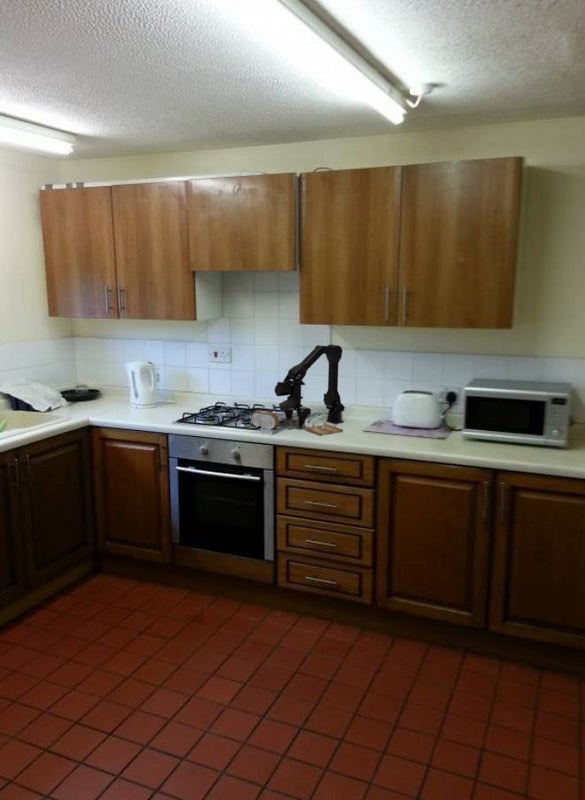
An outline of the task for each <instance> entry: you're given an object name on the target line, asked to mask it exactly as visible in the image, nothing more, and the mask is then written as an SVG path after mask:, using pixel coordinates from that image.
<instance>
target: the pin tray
mask: <svg viewBox="0 0 585 800" xmlns="http://www.w3.org/2000/svg"><path fill="white" fill-rule="evenodd" d="M336 424H337V423H332V425H330V424H327V421H326V420H323V424H321V425H316V423H315V422H312V424H311V425H312V426H310V427H308V426H307V427H304V431H305V432H309V433H312V434H314V435H317V436H320V437H321V436H325V435H326V436H328V435H332V434H336V433H337V434H338V433H343V432H344V429H343V428H340V427H337V426H336Z"/></svg>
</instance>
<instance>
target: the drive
mask: <svg viewBox="0 0 585 800" xmlns="http://www.w3.org/2000/svg"><path fill="white" fill-rule="evenodd" d="M283 424H284V427H283V428H284V429H285V430H288V431H292V430H297V429H301V428H306V420H305V421H304V423H303V425H302V427H301V428H299V419H298V416H297V415H296V416H292V418H284V422H283Z"/></svg>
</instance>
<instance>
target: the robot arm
mask: <svg viewBox="0 0 585 800" xmlns="http://www.w3.org/2000/svg"><path fill="white" fill-rule="evenodd" d="M323 355H325V356H326V357H325V358H326V359H327V362H328V371H327V373H328V374H327V375H328V377H327V378H328V379H327V391H326V393H323V402H324V405H325V406H326V410H328V413H327V420H325V421H326V423H330V424H331V423H332V424H339V423H344V420H342V417H343V415H342V413H343V412H344V411H345V408H346V407H345V405H344V404H343V403H342V400H341V394H340V393H339V391H338V389H339V387H338V386H339V385H338V384H339V363H340V362H341V359H342V356H343V348H342V347H341V346H340V345H337V344H328V345H319V344H318V345H316V346H315V347H314V349H312V351H311V352H310V353H309V354H308V355H307V356H306V357H305V358H304V359H303V360H301V362H299V363H297V364H296V365H294V366H292V367H291V368H290V369H289V370H288V371H287V374H286V376H285V378H284V380H283V381H277V382H276V383H277V384H276V385H275V387H274V394H275V395H276V397H284V396H285V397H286V396H287V397H286V398H287V399H286V400H283V401H282V402H280V403H278V407H279V410H280V411H282V412H283V413H284V414H285V417H286V418H292V417H293V414H294V411H295V412H296V417H297V416H298V419H299V428H298V429H301V427H302V425H303V423H304V421H305V422H306V419H307V418H308V416H310V415H311V414H312V409H311V408H310V407H307V406H304V407H303V404H302V400H303V399H304V396H302V386H306V383H305V382H304V381H303V380H304V378H305V376H306V375H307V373H308V370H309V369H310V368H311V367H312V365H314V364H315V363H316V362H317V361H318V360H319V359H320V357H322V356H323ZM286 418H285V419H286Z"/></svg>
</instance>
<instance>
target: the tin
mask: <svg viewBox="0 0 585 800" xmlns="http://www.w3.org/2000/svg"><path fill="white" fill-rule="evenodd" d="M250 417H251V420H250V421H251V423H252V425H253V426H254V427H256V426H261V427H265V428H275V429H277V428H278V427H279V426H280V419H279V416H278V414H276V413H275V412H272V411H267V410H261V409H258V410H256V411H254V412H253V413H252V414H251V416H250ZM276 427H277V428H276Z"/></svg>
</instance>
